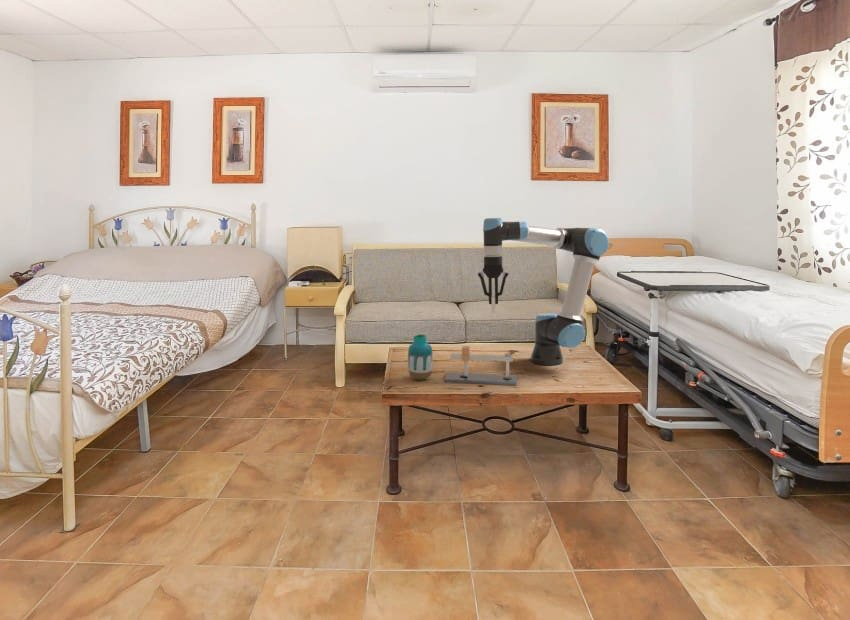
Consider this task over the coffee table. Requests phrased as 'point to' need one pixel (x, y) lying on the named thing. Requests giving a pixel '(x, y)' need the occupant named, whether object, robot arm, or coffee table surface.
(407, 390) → the coffee table surface
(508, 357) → the bar
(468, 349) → the block
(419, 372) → the vase
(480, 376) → the flange plate
